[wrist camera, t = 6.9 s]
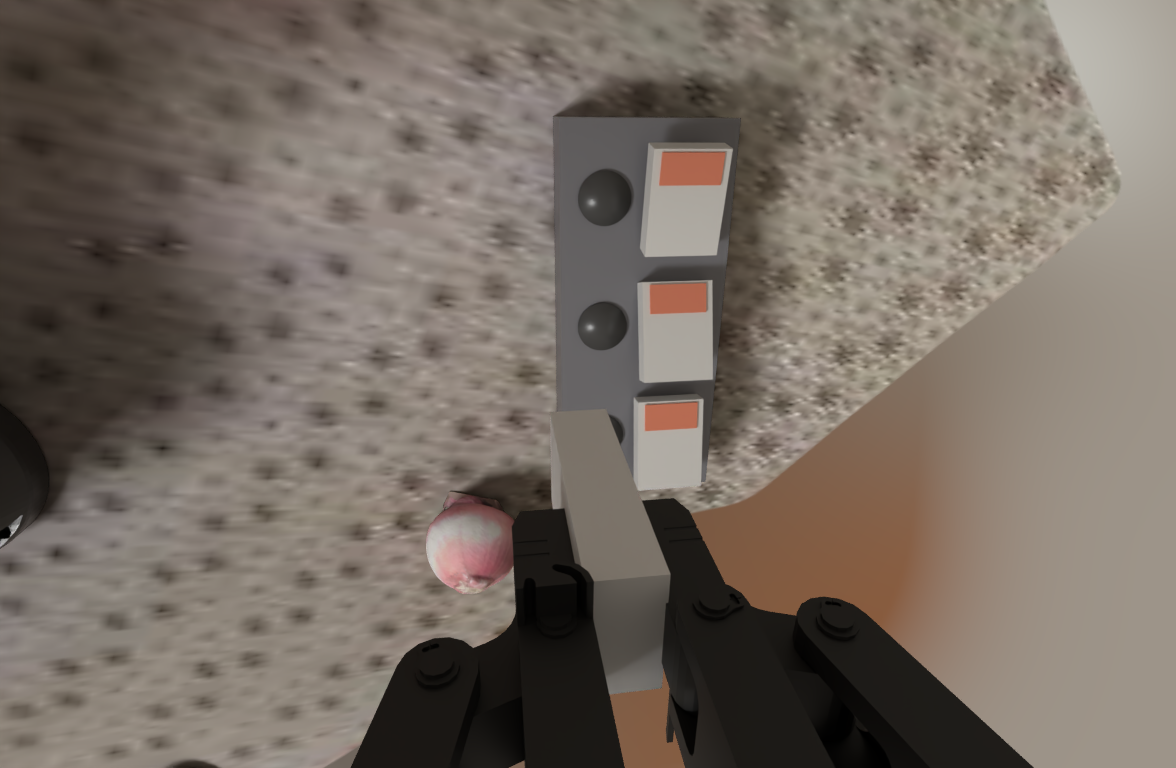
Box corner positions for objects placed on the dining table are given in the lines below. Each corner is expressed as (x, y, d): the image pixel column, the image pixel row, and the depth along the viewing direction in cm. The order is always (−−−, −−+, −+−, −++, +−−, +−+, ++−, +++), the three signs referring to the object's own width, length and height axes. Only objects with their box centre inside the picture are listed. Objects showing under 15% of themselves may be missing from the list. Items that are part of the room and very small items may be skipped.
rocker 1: (639, 248, 44) (645, 257, 42) (648, 142, 40) (654, 149, 38) (709, 246, 44) (717, 256, 43) (724, 142, 41) (733, 149, 39)
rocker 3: (633, 482, 50) (638, 491, 48) (633, 397, 48) (638, 403, 47) (694, 478, 51) (701, 486, 49) (696, 393, 49) (704, 399, 47)
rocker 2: (639, 380, 46) (644, 383, 44) (637, 282, 45) (642, 282, 43) (705, 376, 47) (713, 379, 45) (704, 280, 46) (713, 280, 44)
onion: (472, 559, 59) (443, 620, 53) (425, 497, 56) (388, 553, 50) (544, 536, 56) (521, 597, 50) (497, 469, 53) (467, 525, 47)
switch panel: (557, 466, 55) (562, 493, 51) (553, 116, 44) (559, 117, 40) (691, 457, 56) (706, 483, 53) (720, 117, 45) (741, 118, 41)
